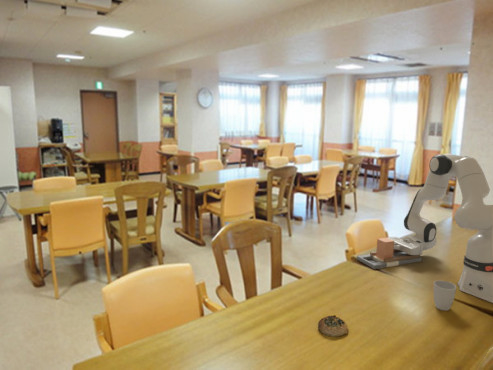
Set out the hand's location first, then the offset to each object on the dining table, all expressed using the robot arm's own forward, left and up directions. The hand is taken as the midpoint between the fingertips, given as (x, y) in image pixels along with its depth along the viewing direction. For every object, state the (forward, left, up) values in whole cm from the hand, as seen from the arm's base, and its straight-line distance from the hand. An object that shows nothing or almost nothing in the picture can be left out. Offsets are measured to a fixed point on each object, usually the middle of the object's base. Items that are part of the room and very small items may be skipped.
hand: (390, 247), depth 199 cm
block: (0, +4, -5) cm, 7 cm away
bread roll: (-46, +68, -8) cm, 82 cm away
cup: (-48, +16, -8) cm, 51 cm away
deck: (0, -1, -7) cm, 8 cm away
